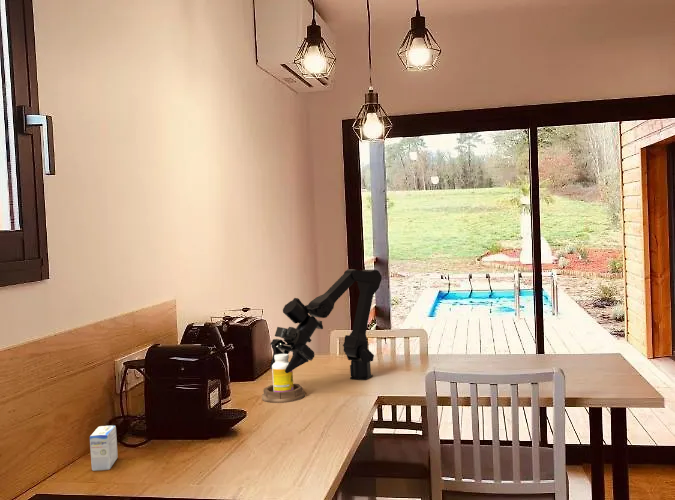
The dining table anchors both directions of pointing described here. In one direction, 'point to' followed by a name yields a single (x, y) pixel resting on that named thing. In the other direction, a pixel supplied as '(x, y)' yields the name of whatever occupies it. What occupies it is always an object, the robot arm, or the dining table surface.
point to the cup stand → (283, 394)
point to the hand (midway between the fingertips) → (278, 370)
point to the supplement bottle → (281, 374)
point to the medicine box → (103, 448)
